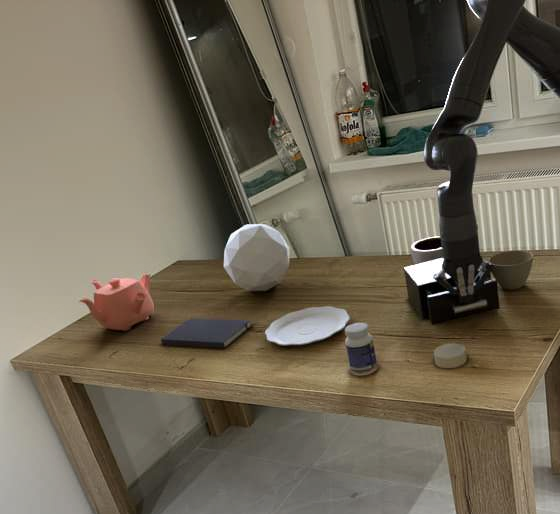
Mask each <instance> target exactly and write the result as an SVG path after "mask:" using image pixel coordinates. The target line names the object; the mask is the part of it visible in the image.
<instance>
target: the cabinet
mask: <svg viewBox="0 0 560 514" xmlns="http://www.w3.org/2000/svg"><path fill="white" fill-rule="evenodd" d="M442 263H443V258H441V259H437V260H433V261H429V262H425V263H420V264H416V265H409V266H408V265H407V266H405V267H403V272H404V278H405V285H406V291H407V298H408V301H409V302H410V304H411V305H412V307H413V308H414V309H415V311H416V312H417V314H418V315H419V316H420V318H421V319H422V320H423V321H424V320H428V319H430V316H429V315H428V313H427V312H426V311H425V307H424V300H423V293H422V288H424V287H428V286H432V285H436V284H439V283H438V282H437V281H436V280H435V279H434V278H433V275H434V274H438V273H439V272H440V270H441V269H442ZM479 271H480V267H479V269H478V271H477V273H476V275H477V274H478V273H479ZM491 274H492V273H490V275H489V276H488V278H490V280H492V275H491ZM445 275H446V277H447V279H446V281H447V282H448V281H452V280H453V279H452V278H451V277H450V276H449V275H448V274H447V273H446V274H445Z"/></svg>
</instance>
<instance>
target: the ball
mask: <svg viewBox="0 0 560 514" xmlns="http://www.w3.org/2000/svg"><path fill="white" fill-rule="evenodd" d="M289 267H290V247H289V245H288V244H287V242H286V241H285V239H284V238H283V236H282V234H281V232H280V231H278V230H277V229H275V228H274V227H272V226H269V225H268V224H263V223H262V224H260V223H259V224H257V223H256V224H255V223H253V224H251V223H249V224H247V223H246V224H245V225H243V226H242V227H240V228H239V229H238V228H237V230H235V231H234V232H232V233H231V234H230V236H229V237H228V240H227V243H226V245H225V247H224V253H223V269H224V270H225V271H226V273H227V274H228V276H229V277H230V278H231V280H232V282H233V284H236V285H237V286H238V287H240V288H242V289H244V290H245V291H247V292H267V291H269V290H270V289H272V288H273V287H275V286H276V285H278V284H280V283H282V281H283V280H284V277H285V276H286V273H287V271H288V269H289Z"/></svg>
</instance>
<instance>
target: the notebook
mask: <svg viewBox="0 0 560 514" xmlns="http://www.w3.org/2000/svg"><path fill="white" fill-rule="evenodd" d="M250 322H251V321H250V320H249V319H227V318H223V319H222V318H193V317H191V318H188V319H186V320H185V321H184V322H182V323H180V325H178V326H177V327H176V328H174V329H173V330H171V331H170V332H169V333H167V334H166V335H164V336H163V337H161V338H160V341H161V344H162V345H166V346H167V345H169V346H184V347H201V348H202V347H203V348H216V349H218V348H219V349H226V348H227V347H228V346H229V345H230V344H232V343H233V342H234V341H236V340H237V339H238V338H239V337H240V336H241V335H242V334H244V333H245V332H246V331H247V330H248V329H250V328H251V327H252V324H251V323H250Z"/></svg>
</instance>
